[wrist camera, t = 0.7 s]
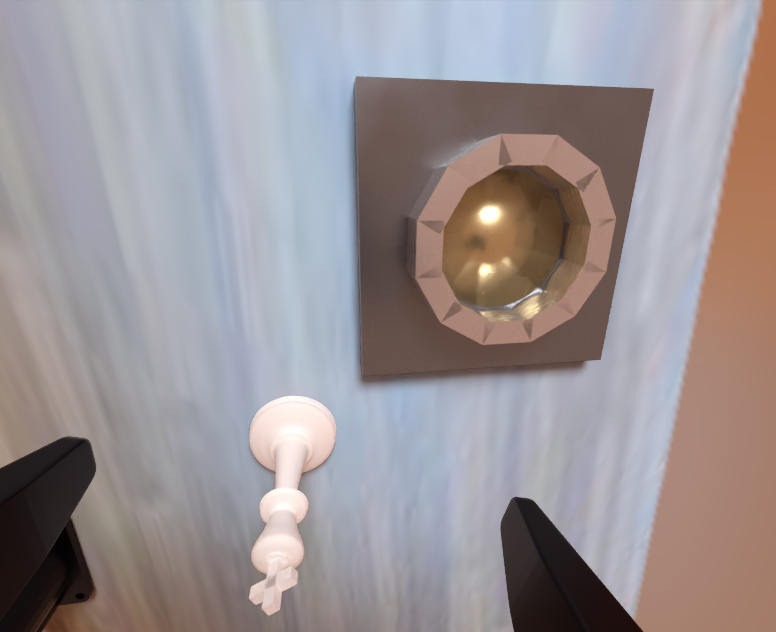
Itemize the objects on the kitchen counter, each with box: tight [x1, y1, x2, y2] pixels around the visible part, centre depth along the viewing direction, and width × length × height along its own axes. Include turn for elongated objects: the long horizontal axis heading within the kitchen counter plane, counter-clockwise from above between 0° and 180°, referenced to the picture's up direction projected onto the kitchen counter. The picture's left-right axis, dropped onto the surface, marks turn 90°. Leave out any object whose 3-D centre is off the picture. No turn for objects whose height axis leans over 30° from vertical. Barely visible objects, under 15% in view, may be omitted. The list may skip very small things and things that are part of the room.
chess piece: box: [249, 396, 337, 615], centre depth 18 cm, size 5×5×10 cm
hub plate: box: [354, 76, 654, 376], centre depth 19 cm, size 14×14×3 cm
